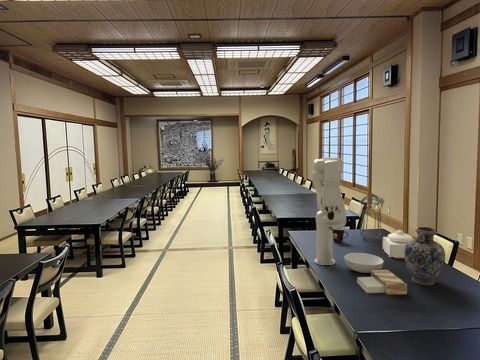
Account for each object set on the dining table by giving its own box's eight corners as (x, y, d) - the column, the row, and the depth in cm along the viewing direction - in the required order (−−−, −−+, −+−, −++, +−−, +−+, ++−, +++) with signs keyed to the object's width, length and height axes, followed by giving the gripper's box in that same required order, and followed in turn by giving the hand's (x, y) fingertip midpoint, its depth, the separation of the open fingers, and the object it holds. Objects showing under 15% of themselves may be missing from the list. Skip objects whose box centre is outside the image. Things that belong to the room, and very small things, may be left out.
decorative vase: (408, 270, 192) (411, 222, 188) (446, 279, 180) (450, 227, 176) (397, 283, 175) (400, 230, 172) (438, 293, 163) (443, 236, 160)
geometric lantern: (383, 238, 256) (385, 192, 252) (379, 244, 243) (381, 196, 238) (361, 235, 265) (363, 191, 260) (356, 241, 251) (358, 194, 247)
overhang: (370, 280, 179) (371, 270, 179) (388, 279, 180) (389, 269, 179) (386, 294, 162) (387, 283, 162) (406, 294, 163) (407, 283, 162)
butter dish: (409, 250, 229) (410, 227, 227) (419, 259, 211) (421, 234, 210) (382, 249, 232) (383, 226, 230) (389, 258, 214) (390, 233, 212)
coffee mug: (329, 240, 252) (329, 227, 251) (339, 239, 254) (339, 226, 253) (338, 245, 241) (338, 231, 240) (348, 244, 243) (349, 230, 242)
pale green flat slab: (357, 282, 176) (357, 277, 176) (387, 282, 177) (387, 276, 177) (367, 293, 164) (367, 287, 164) (399, 292, 165) (399, 286, 165)
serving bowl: (386, 278, 182) (387, 266, 181) (345, 275, 186) (346, 263, 185) (379, 264, 202) (379, 253, 201) (342, 262, 206) (342, 251, 205)
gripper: (343, 183, 180) (342, 217, 182) (315, 184, 180) (314, 218, 181) (348, 185, 173) (347, 220, 175) (319, 185, 172) (318, 221, 174)
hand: (330, 219), depth 178 cm, fingers closed
